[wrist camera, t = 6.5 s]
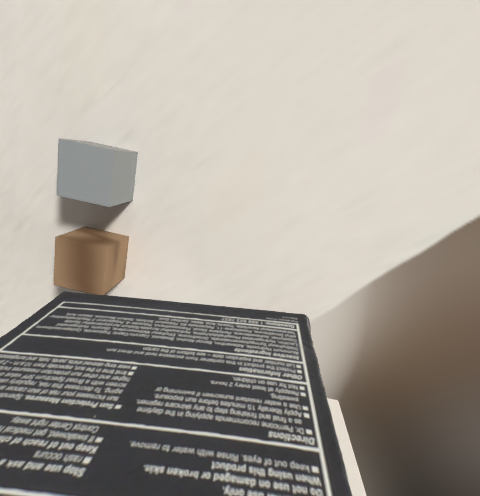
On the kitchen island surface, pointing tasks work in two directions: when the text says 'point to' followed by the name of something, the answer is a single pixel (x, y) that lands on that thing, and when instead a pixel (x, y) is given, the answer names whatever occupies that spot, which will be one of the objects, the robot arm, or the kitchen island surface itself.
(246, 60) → the kitchen island surface
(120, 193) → the slate-grey block
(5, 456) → the small box
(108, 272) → the walnut block
